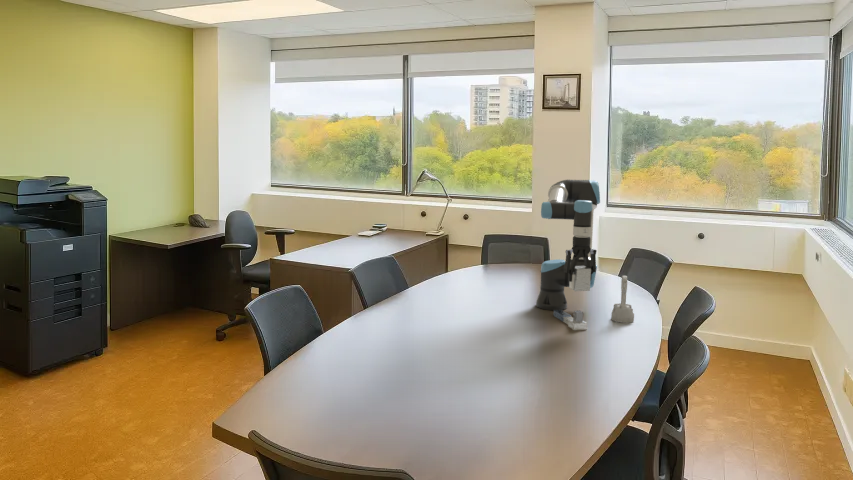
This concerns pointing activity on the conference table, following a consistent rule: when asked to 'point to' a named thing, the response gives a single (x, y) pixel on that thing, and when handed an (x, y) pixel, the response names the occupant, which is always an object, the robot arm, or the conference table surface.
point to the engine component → (623, 306)
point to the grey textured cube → (581, 278)
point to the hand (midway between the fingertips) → (579, 288)
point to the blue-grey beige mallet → (572, 319)
